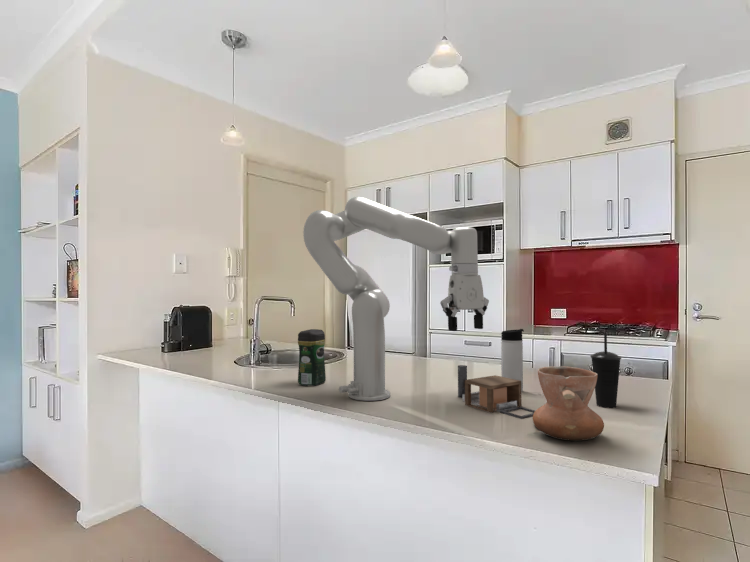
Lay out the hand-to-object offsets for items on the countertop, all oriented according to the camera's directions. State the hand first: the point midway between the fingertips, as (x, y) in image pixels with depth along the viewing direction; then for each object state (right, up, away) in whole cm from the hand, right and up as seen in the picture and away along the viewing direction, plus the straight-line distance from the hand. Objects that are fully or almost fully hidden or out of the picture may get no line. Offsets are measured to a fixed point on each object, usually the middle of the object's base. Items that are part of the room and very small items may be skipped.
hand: (465, 329), depth 130 cm
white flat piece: (+3, -20, -7) cm, 22 cm away
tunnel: (+5, -20, -11) cm, 23 cm away
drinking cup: (+38, -21, -6) cm, 43 cm away
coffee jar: (-48, -21, +24) cm, 58 cm away
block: (+5, -19, -11) cm, 22 cm away
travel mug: (+16, -21, +8) cm, 27 cm away
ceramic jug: (+16, -20, -30) cm, 40 cm away
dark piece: (+10, -20, -18) cm, 29 cm away
